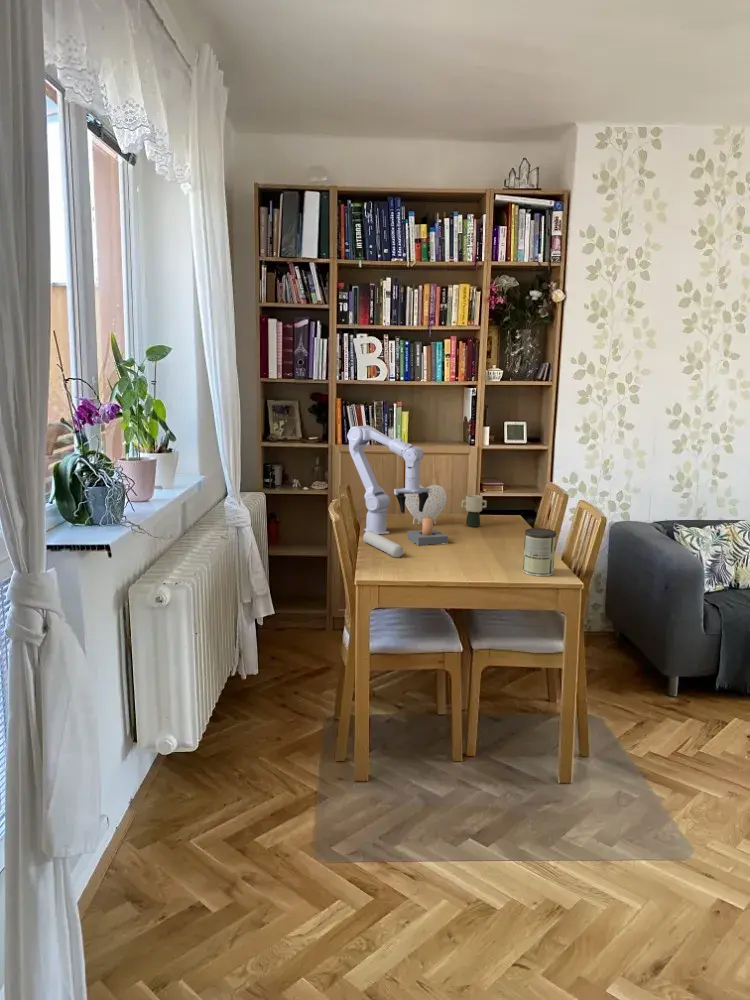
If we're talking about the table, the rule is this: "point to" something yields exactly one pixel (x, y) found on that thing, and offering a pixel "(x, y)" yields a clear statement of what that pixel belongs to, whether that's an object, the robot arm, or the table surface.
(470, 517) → the beige and green trophy
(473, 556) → the table surface
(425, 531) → the peg
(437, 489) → the decorative heart
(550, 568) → the coffee can
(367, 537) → the tube
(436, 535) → the socket board
